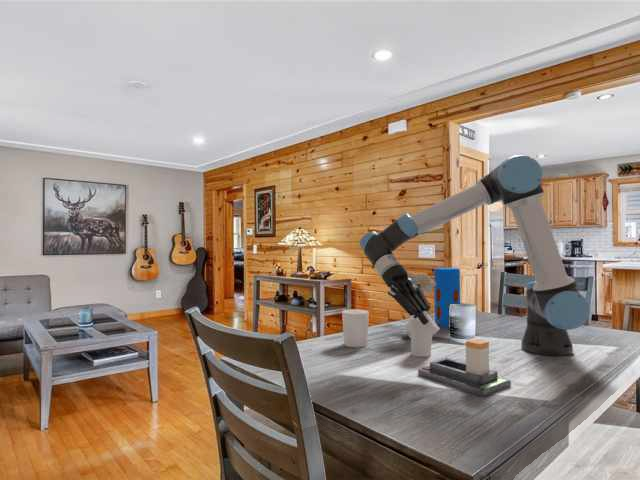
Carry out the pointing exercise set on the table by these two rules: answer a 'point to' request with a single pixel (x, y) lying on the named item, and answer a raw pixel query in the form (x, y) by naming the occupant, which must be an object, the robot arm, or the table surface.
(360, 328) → the candle holder
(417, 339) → the mug
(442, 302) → the leaf-print blue block
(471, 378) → the dark gray tray
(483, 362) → the toggle
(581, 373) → the table surface
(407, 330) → the flower vase
